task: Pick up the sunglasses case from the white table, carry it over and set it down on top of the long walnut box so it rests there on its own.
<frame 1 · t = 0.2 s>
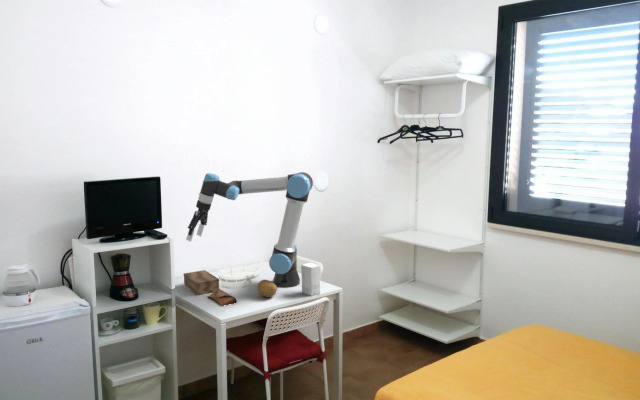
hand: (193, 238, 272), 28 cm above the table, tool tilted 20°, fingers open, 13 cm apart
walnut box: (201, 289, 273), on the table
sunglasses case: (221, 301, 255), on the table
potato: (267, 296, 262), on the table
skincare box: (310, 293, 266), on the table
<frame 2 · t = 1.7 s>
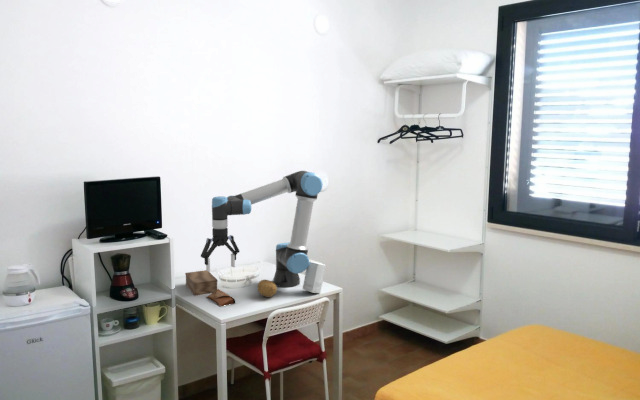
hand: (220, 268, 253), 16 cm above the table, tool pointing down, fingers open, 13 cm apart
skincare box: (310, 291, 266), point 1 cm above the table, touching arm
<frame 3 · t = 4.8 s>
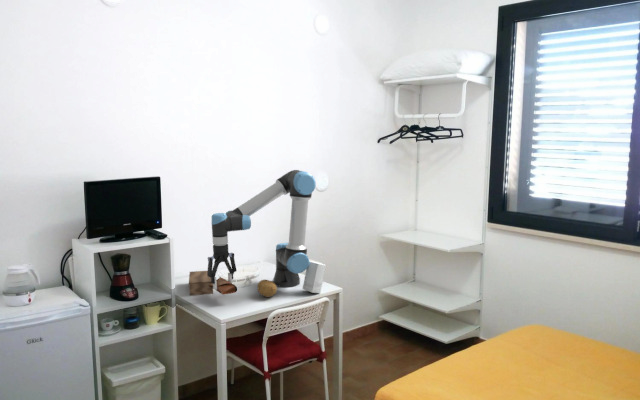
hand: (222, 287, 254), 7 cm above the table, tool pointing down, fingers closed on sunglasses case, 8 cm apart
sunglasses case: (222, 289, 255), point 5 cm above the table, touching gripper
skincare box: (310, 291, 266), point 1 cm above the table
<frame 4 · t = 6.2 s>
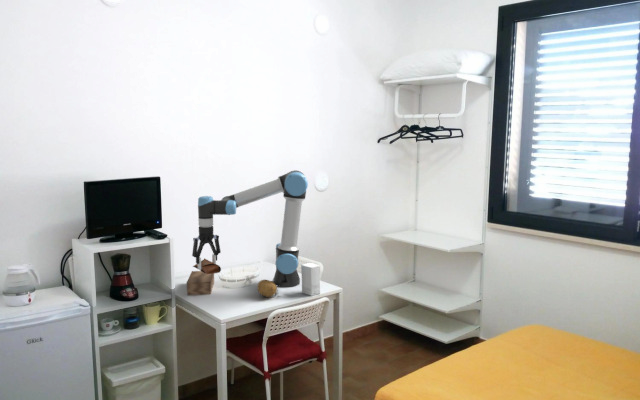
hand: (206, 268, 265), 13 cm above the table, tool pointing down, fingers closed on sunglasses case, 8 cm apart
sunglasses case: (206, 269, 265), point 12 cm above the table, touching gripper
when the fingers open (8 cm above the table, at t = 8.1 s): sunglasses case stays where it is, resting on walnut box.
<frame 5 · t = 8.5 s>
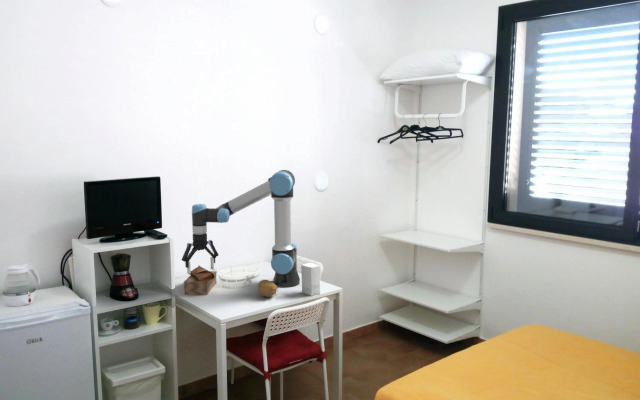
hand: (200, 271, 271), 10 cm above the table, tool pointing down, fingers open, 13 cm apart
walnut box: (201, 289, 273), on the table, touching sunglasses case
sunglasses case: (200, 276, 272), point 7 cm above the table, touching walnut box
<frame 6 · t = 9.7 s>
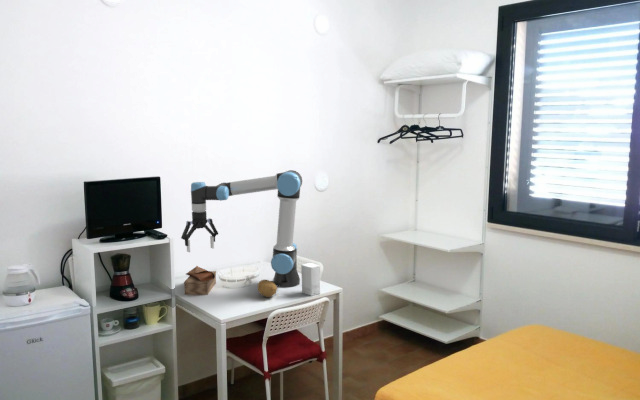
hand: (200, 249, 269), 22 cm above the table, tool pointing down, fingers open, 13 cm apart
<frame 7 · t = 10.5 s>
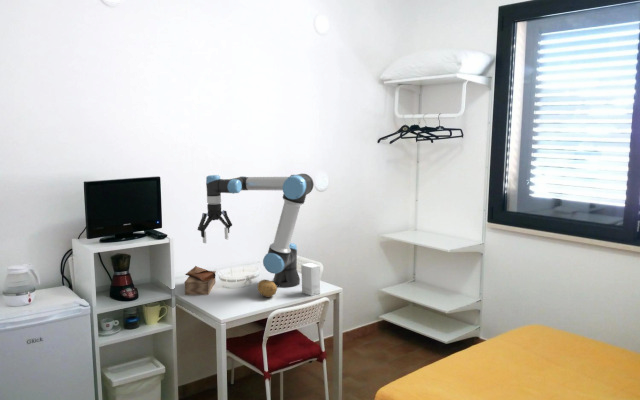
hand: (215, 241, 278), 24 cm above the table, tool pointing down, fingers open, 13 cm apart
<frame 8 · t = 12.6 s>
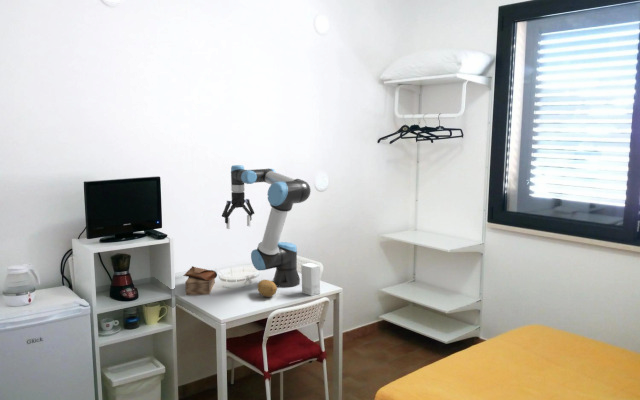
hand: (238, 227, 294), 29 cm above the table, tool pointing down, fingers open, 13 cm apart
at the end: sunglasses case inside the target area on the walnut box (0.6 cm from its centre), point 7.0 cm above the walnut box's base; sunglasses case touching walnut box; the gripper is holding nothing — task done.
